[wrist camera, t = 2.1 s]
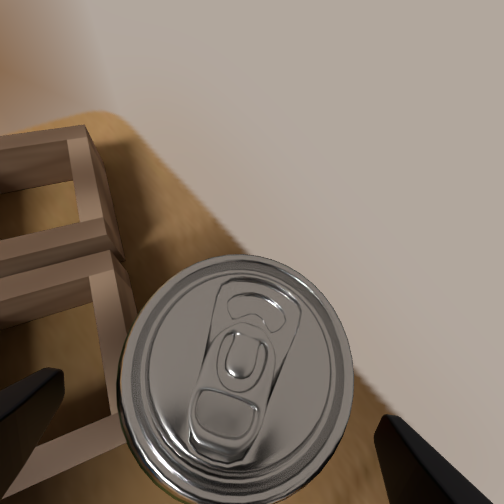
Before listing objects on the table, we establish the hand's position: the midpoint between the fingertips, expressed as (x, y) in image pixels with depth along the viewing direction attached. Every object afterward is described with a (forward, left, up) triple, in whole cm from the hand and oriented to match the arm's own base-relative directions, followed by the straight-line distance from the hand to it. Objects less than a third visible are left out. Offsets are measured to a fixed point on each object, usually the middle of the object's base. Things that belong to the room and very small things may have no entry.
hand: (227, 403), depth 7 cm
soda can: (+1, 0, -9) cm, 9 cm away
